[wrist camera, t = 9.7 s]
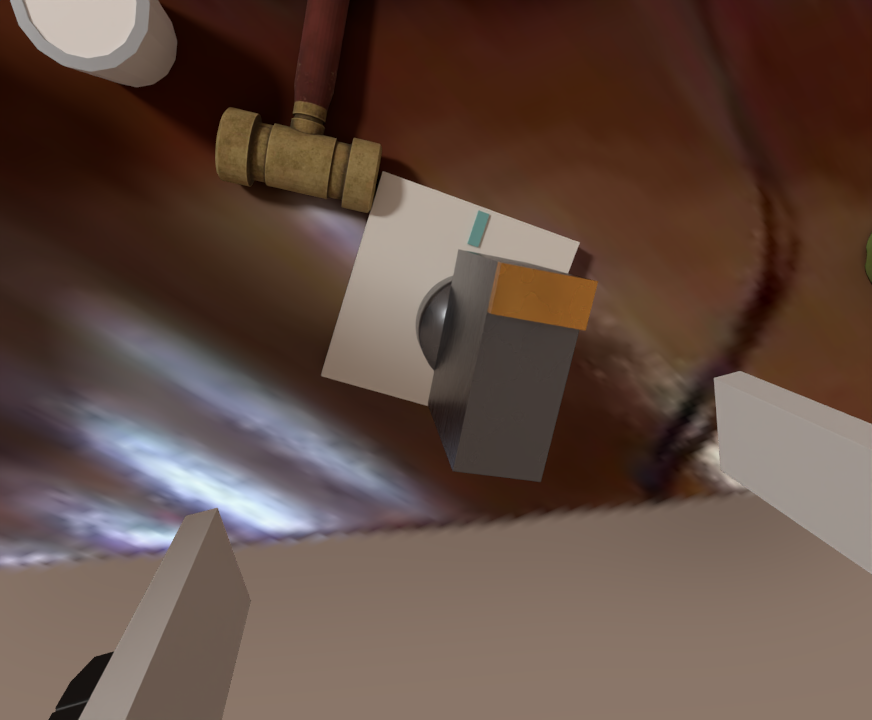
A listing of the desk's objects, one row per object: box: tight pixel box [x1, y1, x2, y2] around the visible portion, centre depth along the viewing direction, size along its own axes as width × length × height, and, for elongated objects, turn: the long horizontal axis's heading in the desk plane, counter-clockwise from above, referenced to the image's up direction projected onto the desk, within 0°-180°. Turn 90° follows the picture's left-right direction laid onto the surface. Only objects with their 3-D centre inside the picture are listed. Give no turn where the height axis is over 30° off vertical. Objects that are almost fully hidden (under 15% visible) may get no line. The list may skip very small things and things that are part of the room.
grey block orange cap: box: [415, 249, 598, 482], centre depth 29 cm, size 9×6×13 cm
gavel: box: [215, 0, 382, 213], centre depth 36 cm, size 21×5×10 cm
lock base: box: [321, 171, 580, 406], centre depth 39 cm, size 15×15×8 cm
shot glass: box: [10, 0, 177, 87], centre depth 33 cm, size 7×7×7 cm
